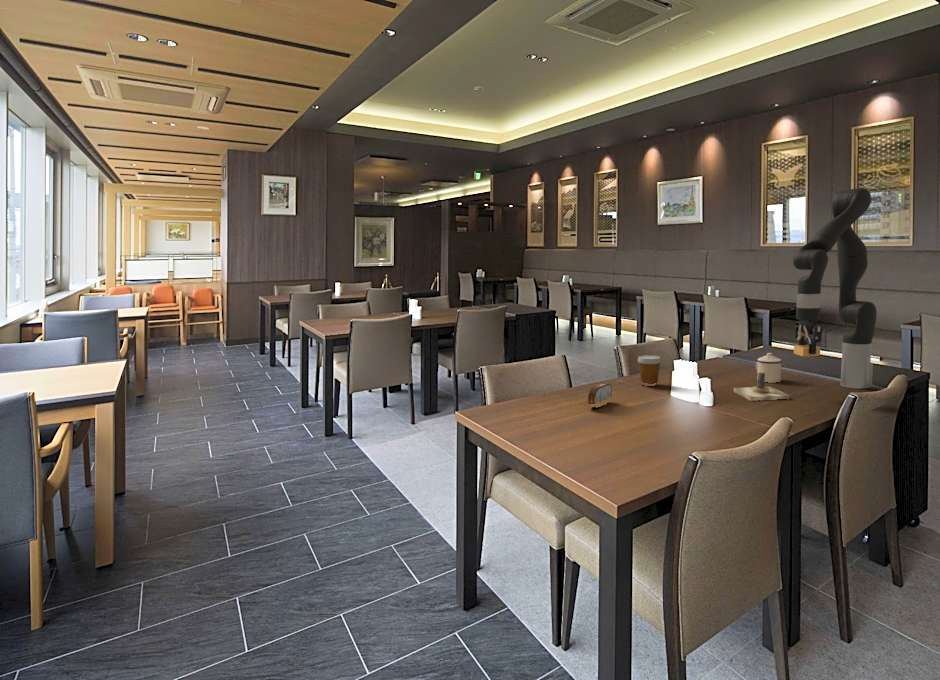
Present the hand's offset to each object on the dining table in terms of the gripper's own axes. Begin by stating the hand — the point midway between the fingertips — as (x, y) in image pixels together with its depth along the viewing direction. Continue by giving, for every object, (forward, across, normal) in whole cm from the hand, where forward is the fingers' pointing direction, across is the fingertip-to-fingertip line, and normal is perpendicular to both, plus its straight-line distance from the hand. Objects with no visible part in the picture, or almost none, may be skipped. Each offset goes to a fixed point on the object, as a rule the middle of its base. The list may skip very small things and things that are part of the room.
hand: (806, 352), depth 203 cm
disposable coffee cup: (+17, +29, +48) cm, 59 cm away
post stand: (+17, +6, +13) cm, 22 cm away
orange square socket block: (+1, 0, 0) cm, 1 cm away
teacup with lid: (+17, +30, -1) cm, 35 cm away
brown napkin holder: (+17, 0, +74) cm, 76 cm away
